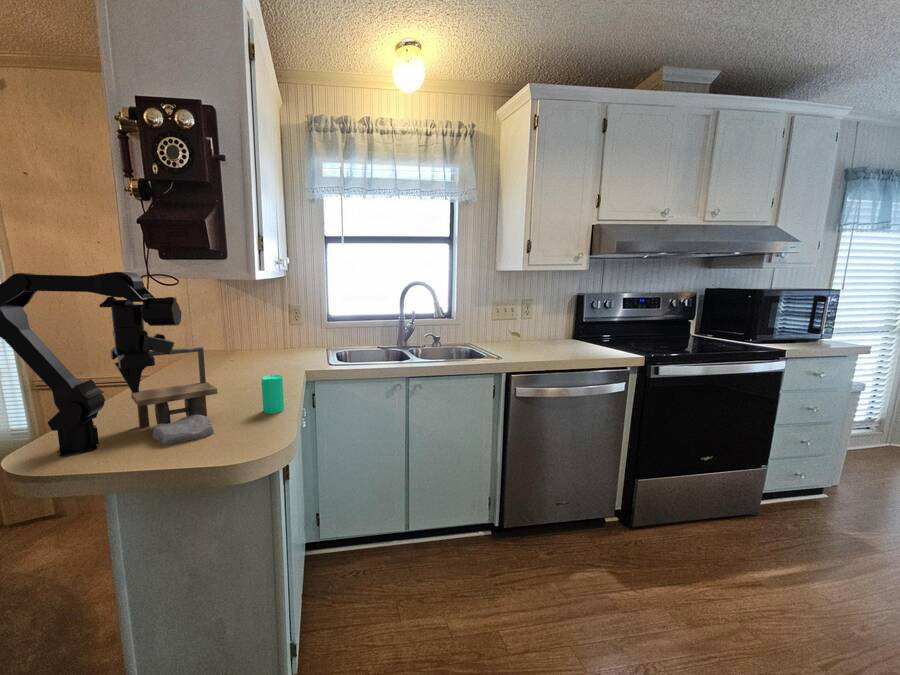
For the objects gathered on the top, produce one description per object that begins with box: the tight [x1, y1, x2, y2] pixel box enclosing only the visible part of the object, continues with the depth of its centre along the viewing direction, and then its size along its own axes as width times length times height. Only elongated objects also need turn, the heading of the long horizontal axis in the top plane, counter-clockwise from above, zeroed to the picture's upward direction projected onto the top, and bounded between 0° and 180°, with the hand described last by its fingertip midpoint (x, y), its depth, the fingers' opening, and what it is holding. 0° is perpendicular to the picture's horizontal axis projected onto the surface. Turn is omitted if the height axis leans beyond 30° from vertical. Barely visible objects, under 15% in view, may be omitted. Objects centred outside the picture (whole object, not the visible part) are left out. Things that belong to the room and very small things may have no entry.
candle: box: [261, 374, 285, 414], centre depth 129 cm, size 6×6×12 cm
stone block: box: [152, 414, 215, 445], centre depth 109 cm, size 12×5×10 cm
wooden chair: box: [130, 346, 218, 429], centre depth 116 cm, size 18×11×20 cm, turn 133°
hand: (135, 392), depth 101 cm, fingers closed
